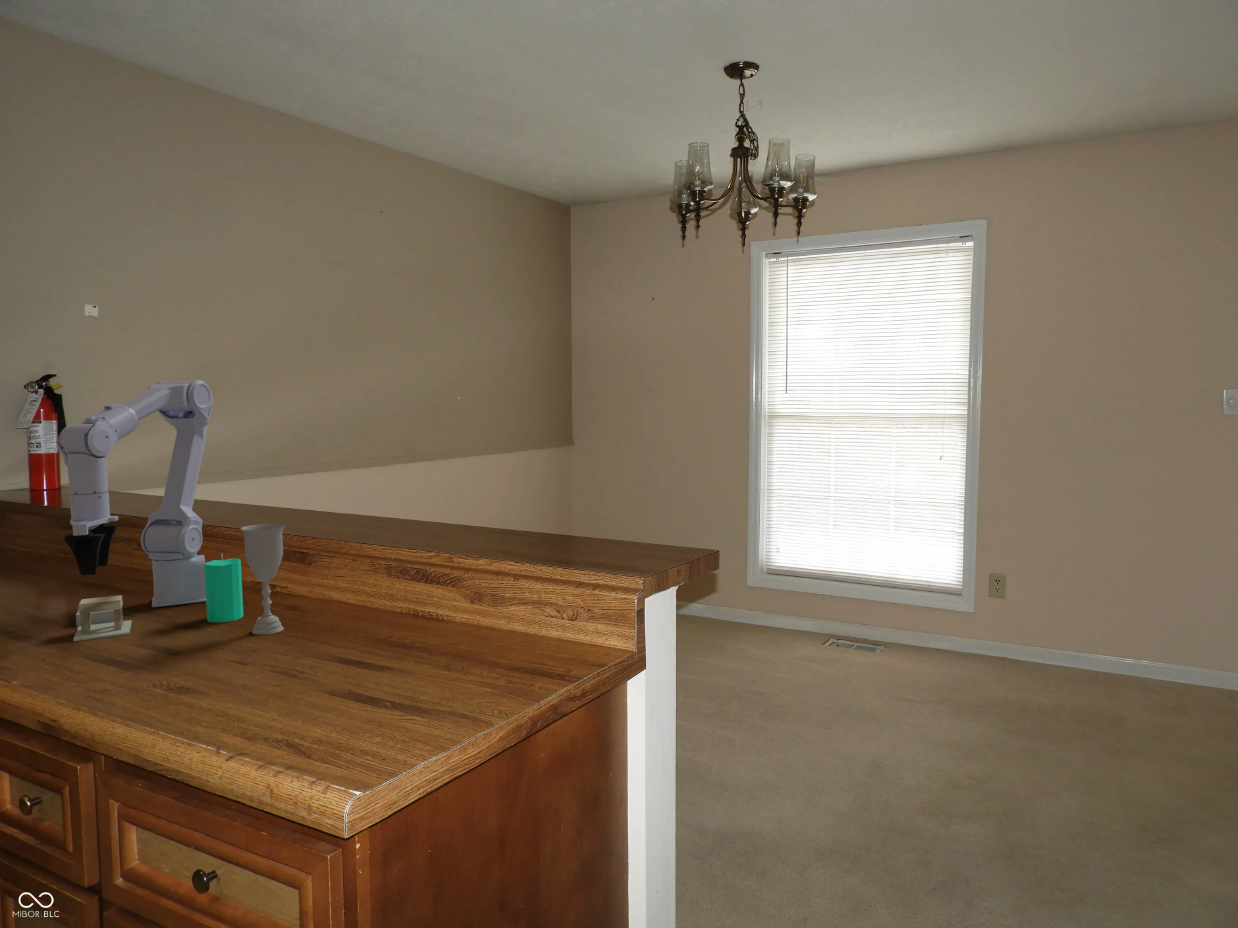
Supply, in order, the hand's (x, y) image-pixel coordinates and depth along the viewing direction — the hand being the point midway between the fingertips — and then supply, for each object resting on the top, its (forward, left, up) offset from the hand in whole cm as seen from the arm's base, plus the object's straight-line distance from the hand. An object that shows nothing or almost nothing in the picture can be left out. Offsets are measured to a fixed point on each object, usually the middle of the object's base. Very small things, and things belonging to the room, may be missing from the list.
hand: (94, 570), depth 144 cm
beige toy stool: (-1, +3, -10) cm, 10 cm away
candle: (-20, +4, -11) cm, 23 cm away
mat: (-1, +3, -10) cm, 11 cm away
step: (+1, -7, -10) cm, 12 cm away
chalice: (-26, +17, -11) cm, 33 cm away
